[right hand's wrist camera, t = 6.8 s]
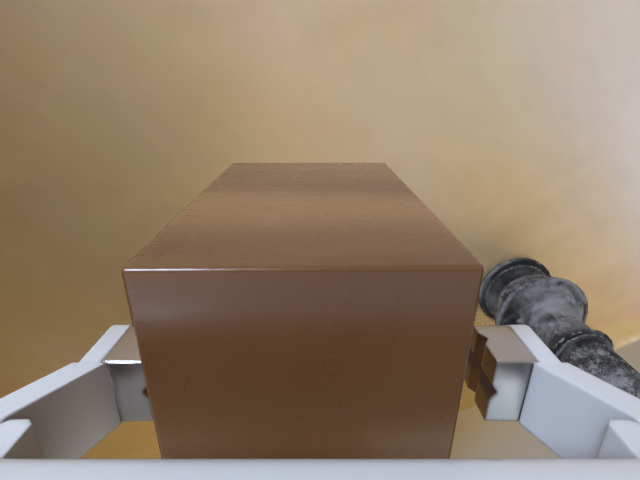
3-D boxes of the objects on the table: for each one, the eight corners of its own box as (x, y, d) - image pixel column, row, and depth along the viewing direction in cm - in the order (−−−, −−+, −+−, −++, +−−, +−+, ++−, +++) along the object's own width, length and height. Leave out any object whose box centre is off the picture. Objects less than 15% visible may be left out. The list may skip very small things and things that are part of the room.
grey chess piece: (572, 282, 28) (746, 415, 16) (512, 337, 29) (633, 490, 18) (517, 238, 26) (667, 350, 15) (457, 298, 28) (552, 438, 17)
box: (231, 162, 15) (118, 268, 6) (385, 162, 15) (486, 265, 6) (262, 526, 23) (232, 791, 14) (361, 524, 23) (391, 786, 14)
